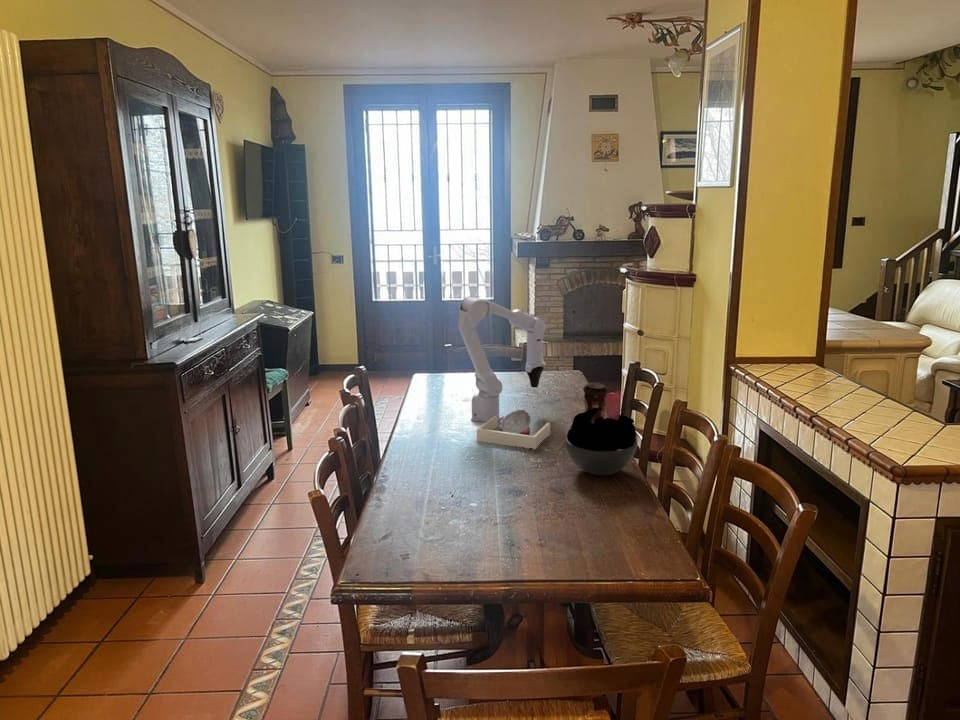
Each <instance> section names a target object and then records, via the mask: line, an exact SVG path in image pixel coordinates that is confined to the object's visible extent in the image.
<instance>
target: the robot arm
mask: <svg viewBox="0 0 960 720" xmlns="http://www.w3.org/2000/svg"><path fill="white" fill-rule="evenodd" d="M458 311H459V316H458V327H457V328H458V331H459V332H460V335H461V338H462V341H463V343H464V345H465V347H466V350H467V353H468V355H469V357H470V360H471V362H472V366H473V367H474V370H475V373H474V376H475V386H476V388H477V389H478V392H477V393H474V394H473V396H472V398H471V418H470V420H471V421H476V422H482V423H483V422H484V423H486V422H487V421H488V420H490V419H491V418H492V417H493V416H497V422H498V421H500V420H502V419H503V418H505V416H504V415H502V414H500V394H501V393H502V392H503V384H502V382H501V380H499V379H498V377H497V375H496V374H495V372H494V370H492V368H491V366H490V363H489V360H488V358H487V356H486V353H485V350H484V348H483V345H482V343H481V340H480V337H479V335H478V333H477V330H476V329H477V326H478V324H480V322H481V321H482V320H483V319H484V318H485V317H486V315H487V316H490V315H491V314H492V315H493V314H494V315H496V316H499V317H502V318H504V319H507V320H508V322H509V324H510V325H512V326H514V327H516V328H520V329H521V330H524V331H525V332H526V363H525V366H524V367H525V368H524V369H525V370H524V371H525V373H527V375H528V379H529V382H530V383H529V384H530V386H531V388H536V389H537V388H538V387H539V383H540V379H541V376H542V373H543V372H544V370H545V368H544V366H546V364H547V363H546V362H545V361H544V360H545V359H544V357H543V355H544V333H545V332H546V330H547V325H546V323H545V321H544V320H543V319H542V318H539V317H536V316H535V315H534V314H532V313H530V314H529V313H527V312H524V309H522V308H518V309H517V308H515V309H513V310H510V309H508V308H506V307H504V306H502V305H499V304H497V303H495V302H493V301H489V300H485V299H482V298H476V297H474V296H466V297H464V298H463V299H462V301H461V302H460V303H459V306H458Z"/></svg>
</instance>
